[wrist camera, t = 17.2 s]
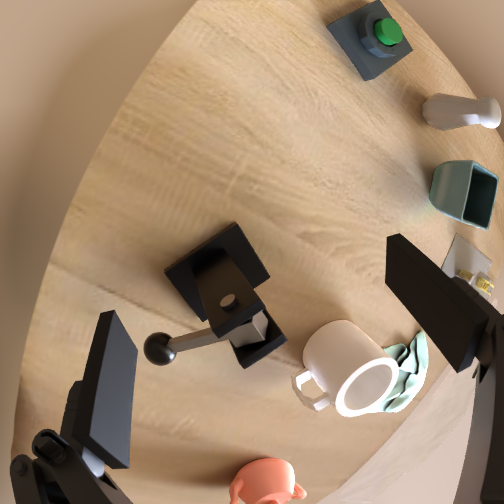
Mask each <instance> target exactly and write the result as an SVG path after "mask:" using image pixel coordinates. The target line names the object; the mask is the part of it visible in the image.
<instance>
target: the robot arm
mask: <svg viewBox="0 0 504 504" xmlns="http://www.w3.org/2000/svg"><path fill="white" fill-rule="evenodd" d="M385 283H386V285H387V286H388V287H389V288H390V289H391V290H392V292H393V293H394V294H395V295H396V296H397V298H398V299H399V300H400V301H401V302H402V304H403V305H404V306H405V307H406V308H407V310H408V311H409V312H410V313H411V315H412V316H413V317H414V318H415V319H416V321H417V322H418V323H419V324H420V326H421V327H422V328H423V329H424V331H425V332H426V333H427V334H428V336H429V337H430V338H431V340H432V341H433V342H434V343H435V345H436V346H437V347H438V349H439V350H440V351H441V353H442V354H443V355H444V356H445V358H446V359H447V360H448V362H449V363H450V364H451V366H452V367H453V368H454V370H455V371H456V373H459V372H461V371H463V370H464V369H466V368H468V367H469V366H471V364H472V362H473V359H474V357H476V358H477V359H478V360H479V363H478V365H477V367H476V369H475V371H474V373H473V376H472V378H475V376H476V374H477V377H476V389H475V399H474V407H473V415H472V422H471V428H470V434H469V440H468V445H467V451H466V455H465V460H464V464H463V469H462V473H461V477H460V481H459V485H458V489H457V492H456V496H455V499H454V502H453V504H504V314H503V315H501V314H500V313H499V312H498V311H497V310H496V309H495V308H494V307H493V306H492V305H491V304H490V303H489V302H488V301H487V300H486V299H485V298H484V297H483V296H482V295H480V294H479V292H478V291H476V290H475V289H474V288H473V287H472V286H471V285H470V284H469V283H468V282H467V281H466V280H464V279H461V278H459V277H457V276H454V277H452V278H450V277H449V276H448V275H447V274H446V273H444V272H443V271H442V270H441V269H440V268H439V267H438V266H437V265H436V264H435V263H434V262H432V261H431V260H430V259H429V258H428V257H427V256H426V255H425V254H423V253H422V252H421V251H420V250H419V249H418V248H417V247H415V246H414V245H413V244H412V243H411V242H410V241H408V240H407V239H406V238H405V237H404V236H402V235H401V234H400V233H398V234H395V235H392V236H388V237H387V247H386V274H385ZM137 354H138V350H137V348H136V346H135V345H134V343H133V341H132V340H131V338H130V336H129V335H128V333H127V331H126V329H125V328H124V326H123V324H122V323H121V321H120V319H119V317H118V315H117V314H116V312H115V310H111V311H107V312H103V313H100V316H99V320H98V323H97V327H96V330H95V334H94V337H93V341H92V344H91V348H90V352H89V356H88V360H87V364H86V368H85V372H84V376H83V380H81V381H75V383H74V384H73V386H72V387H71V389H70V391H69V394H68V398H67V403H66V407H65V411H64V416H63V421H62V426H61V431H60V435H58V434H57V433H56V432H55V431H54V430H51V429H44V430H42V431H40V432H39V433H38V434H37V435H36V436H35V438H34V440H33V442H32V452H33V454H34V455H36V456H37V457H38V458H37V459H34V460H32V459H31V458H29V457H28V456H27V455H23V454H21V455H18V456H17V457H15V458H14V459H13V461H12V462H11V465H10V476H11V481H12V487H13V492H14V497H15V501H16V504H133V503H132V502H131V501H130V500H129V498H128V497H127V496H126V495H125V494H124V493H123V492H122V490H121V489H120V488H119V487H118V486H117V484H116V483H115V482H114V481H113V480H112V478H111V477H110V476H109V475H108V474H107V473H106V472H105V471H104V465H105V464H106V465H108V466H109V467H110V468H112V469H127V468H129V456H130V434H131V418H132V404H133V392H134V381H135V372H136V362H137Z"/></svg>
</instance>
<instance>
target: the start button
mask: <svg viewBox="0 0 504 504" xmlns="http://www.w3.org/2000/svg"><path fill="white" fill-rule="evenodd" d="M374 34H375V36H376V37H377V39H378V40H379V41H380V42H381V43H383V44H384V45H393V44H396V43H399V42H400V41H401V40H402V38H403V33H402V30H401V28H400V26H399V25H398V23H397V22H396V21H394V20H393V19H390V18H385V19H383V20H380V21H378V22H376V23H375V25H374Z"/></svg>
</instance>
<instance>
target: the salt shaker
mask: <svg viewBox="0 0 504 504" xmlns="http://www.w3.org/2000/svg"><path fill="white" fill-rule="evenodd" d="M422 116H423V117H424V119H425V120H426V122H427V123H428V124H429V125H430V126H432V127H434V128H436V129H439V130H442V131H446V130H450V129H454V128H459V127H463V126H468V125H472V124H478V123H481V124H482V125H483V126H485V127H488V128H495V127H497V126H498V125H499V124H500V121H501V110H500V106H499V104H498V103H497V101H496V100H495V99H494V98H492V97H490V96H483V97H481V98H479V100H475V99H470V98H465V97H459V96H453V95H447V94H441V93H438V94H435V95H432V96H431V97H430V98H429V99H428V100H427V101H426V102H425V103H423V104H422Z"/></svg>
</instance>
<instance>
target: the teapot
mask: <svg viewBox="0 0 504 504" xmlns="http://www.w3.org/2000/svg"><path fill="white" fill-rule="evenodd" d="M293 489H294V490H295V491H296V492H297V494H294V493H293ZM229 493H230V498H231V502H230V504H238V496H239V497H240V499H241V500H242V501H244V502H245V503H246V504H285V503H286V502H287V501H288V500H289V499H290V498H292V499H302V498H305V497H306V492H305V491H304V490H303V488H302V487H300V486H299V485H298V484H297V483H295V482H294V472H293V469H292V466H291V465H290V464H289V463H288V462H286V461H283V460H280V459H276V458H265V459H259V460H255V461H253V462H250V463H248V464H247V465H245V466H244V467H243V468H241V469H240V470H239V472H238V473H237V475H236V476H235V478H234V481H233V482H232V483H231V485H230V488H229Z"/></svg>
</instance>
